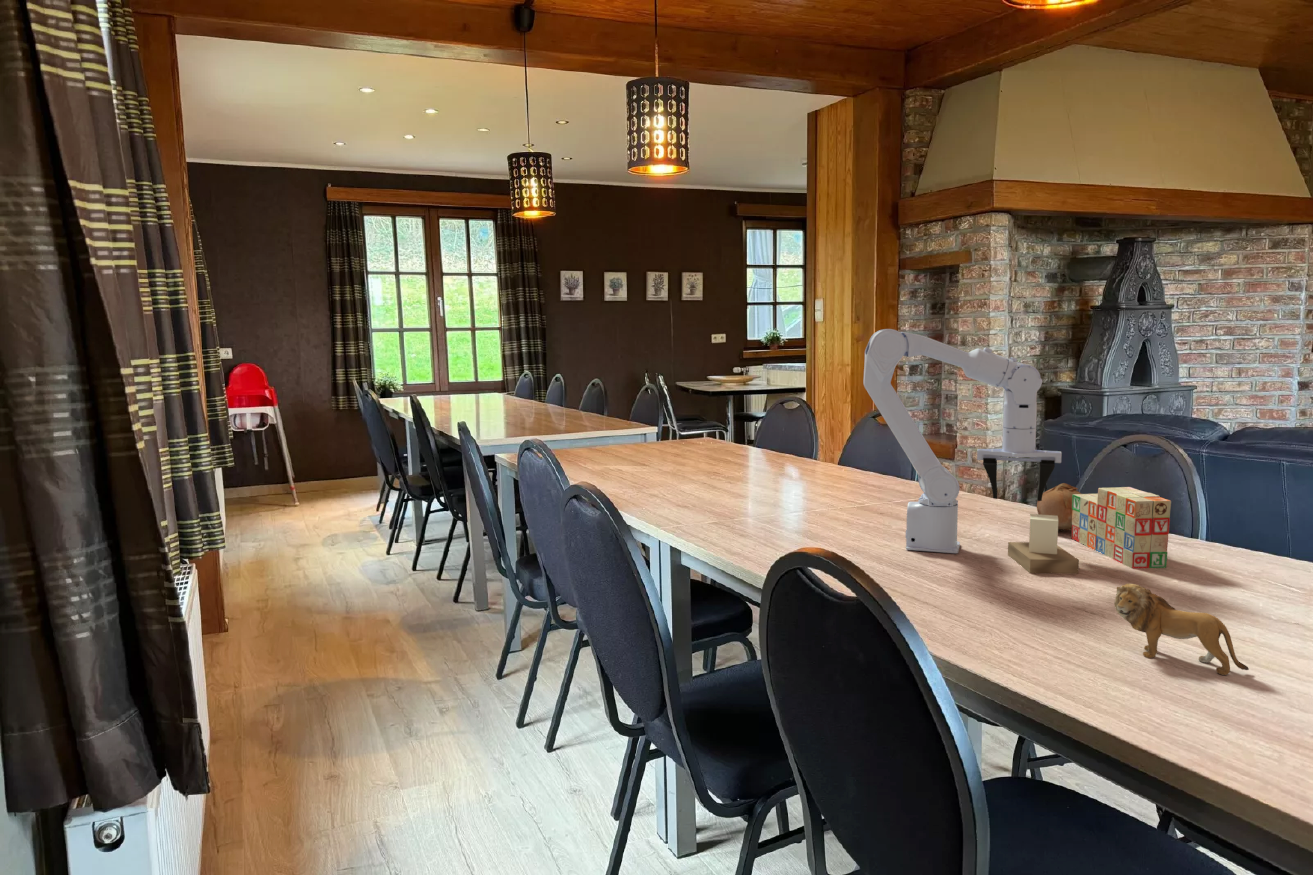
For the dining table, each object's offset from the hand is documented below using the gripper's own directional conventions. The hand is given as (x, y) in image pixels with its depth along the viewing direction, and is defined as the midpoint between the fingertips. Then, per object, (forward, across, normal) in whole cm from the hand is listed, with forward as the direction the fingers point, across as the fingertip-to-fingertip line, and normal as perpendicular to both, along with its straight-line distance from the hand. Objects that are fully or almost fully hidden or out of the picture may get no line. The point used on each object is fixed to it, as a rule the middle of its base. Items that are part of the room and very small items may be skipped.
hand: (1017, 498), depth 158 cm
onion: (+10, +9, +19) cm, 23 cm away
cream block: (+8, +4, -9) cm, 12 cm away
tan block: (+10, +4, -9) cm, 14 cm away
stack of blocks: (+10, +17, +4) cm, 20 cm away
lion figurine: (+10, +18, -51) cm, 55 cm away
